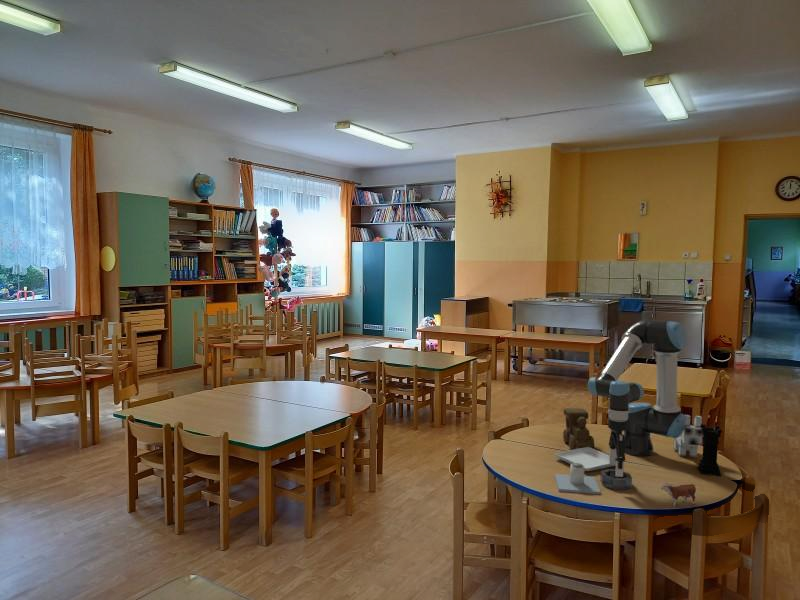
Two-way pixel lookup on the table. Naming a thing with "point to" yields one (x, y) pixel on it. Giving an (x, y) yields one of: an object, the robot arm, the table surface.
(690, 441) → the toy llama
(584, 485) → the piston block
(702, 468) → the chess piece
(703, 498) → the table surface
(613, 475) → the ring
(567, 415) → the wooden toy train
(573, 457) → the salad plate
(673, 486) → the bull figurine
